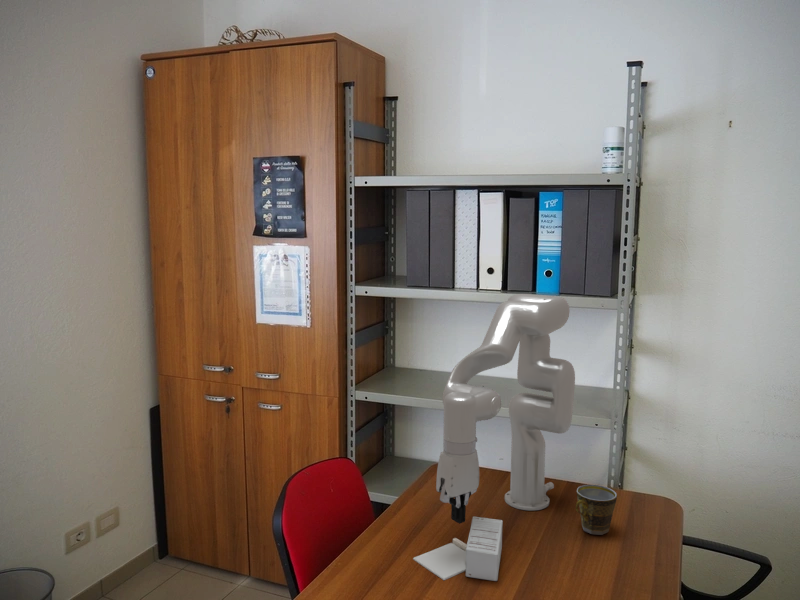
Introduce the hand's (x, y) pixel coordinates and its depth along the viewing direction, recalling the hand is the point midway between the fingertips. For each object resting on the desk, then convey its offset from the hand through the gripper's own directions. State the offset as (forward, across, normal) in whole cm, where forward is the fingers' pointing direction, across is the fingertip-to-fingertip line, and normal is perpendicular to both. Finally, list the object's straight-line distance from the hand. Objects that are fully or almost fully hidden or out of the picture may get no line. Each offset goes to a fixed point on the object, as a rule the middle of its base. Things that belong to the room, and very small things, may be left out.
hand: (458, 520), depth 148 cm
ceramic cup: (+9, -37, +11) cm, 40 cm away
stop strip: (+9, -4, 0) cm, 10 cm away
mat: (+9, +3, 0) cm, 10 cm away
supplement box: (+3, -7, +3) cm, 8 cm away
